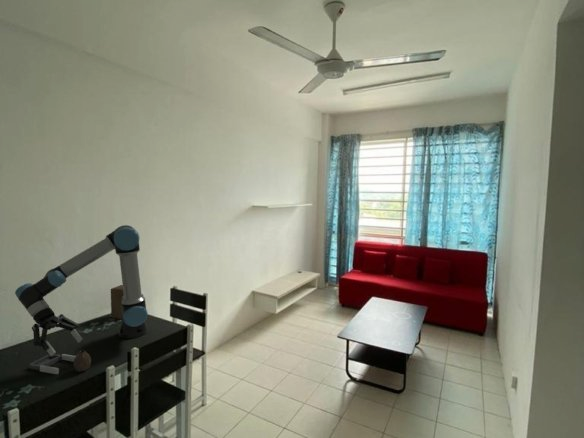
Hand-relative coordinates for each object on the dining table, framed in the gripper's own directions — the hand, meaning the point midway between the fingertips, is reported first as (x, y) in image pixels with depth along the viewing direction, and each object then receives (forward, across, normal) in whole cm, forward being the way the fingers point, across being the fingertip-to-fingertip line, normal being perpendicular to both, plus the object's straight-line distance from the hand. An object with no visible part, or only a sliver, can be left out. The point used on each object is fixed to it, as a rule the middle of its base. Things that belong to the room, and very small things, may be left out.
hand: (67, 347), depth 148 cm
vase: (+12, -1, -3) cm, 13 cm away
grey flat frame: (-3, -1, -18) cm, 18 cm away
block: (-10, -61, -25) cm, 67 cm away
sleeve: (+3, -1, -12) cm, 12 cm away
